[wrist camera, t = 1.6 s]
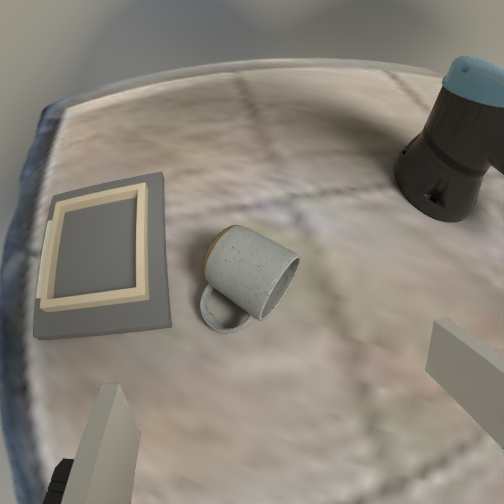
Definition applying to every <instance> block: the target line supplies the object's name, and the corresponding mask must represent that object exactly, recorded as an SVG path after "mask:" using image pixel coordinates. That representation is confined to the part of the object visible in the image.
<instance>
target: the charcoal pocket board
mask: <svg viewBox="0 0 504 504" xmlns="http://www.w3.org/2000/svg"><path fill="white" fill-rule="evenodd" d="M170 327H172V324H171V313H170V301H169V289H168V274H167V258H166V237H165V207H164V177H163V173H162V172H158V173H152V174H147V175H142V176H137V177H132V178H127V179H122V180H117V181H113V182H108V183H104V184H99V185H95V186H90V187H86V188H82V189H78V190H74V191H70V192H66V193H62V194H58V195H54V196H53V200H52V204H51V208H50V213H49V217H48V222H47V227H46V232H45V237H44V242H43V248H42V254H41V260H40V267H39V274H38V282H37V290H36V300H35V312H34V327H33V337H35V338H37V339H39V340H47V339H62V338H75V337H87V336H99V335H109V334H119V333H128V332H137V331H146V330H154V329H162V328H170Z"/></svg>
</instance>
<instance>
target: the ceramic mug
mask: <svg viewBox="0 0 504 504" xmlns="http://www.w3.org/2000/svg"><path fill="white" fill-rule="evenodd" d="M299 264H300V256H299V255H298V254H297V253H295V252H293V251H291V250H289V249H287V248H285V247H284V246H282V245H280V244H278V243H276V242H274V241H272V240H270V239H268V238H266V237H264V236H262V235H260V234H259V233H257V232H255V231H253V230H251V229H249V228H246V227H243V226H239V225H233V226H230V227H228V228H226V229H224V230H223V231H222V232H220V233H219V234H218V235H217V237H216V238H215V239H214V240H213V242H212V243H211V245H210V247H209V248H208V250H207V252H206V255H205V257H204V261H203V266H202V267H203V275H204V277H205V279H206V280H207V281H208V285H207V286H206V288H205V290H204V291H203V294H202V296H201V301H200V310H201V314H202V317H203V319H204V320H205V322H206V323H207V324H208V325H209V326H210V327H211V328H212V329H213V330H215V331H217V332H219V333H225V334H228V333H234V332H238V331H240V330H242V329H244V328H245V327H246V326H248V325H249V324H250V323H251V322H252V321H253V320H254V319H255V318H256V319H258V320H260V321H261V320H264V319H265V318H267V317H268V316H269V315H270V314H271V313H272V312H273V310H274V309H275V308H276V306H277V305H278V304H279V303H280V301H281V300H282V298H283V297H284V296H285V293H286V292H287V290H288V289H289V287H290V285H291V284H292V282H293V280H294V278H295V276H296V273H297V271H298V267H299ZM214 288H215V289H216V290H218V291H219V292H221V293H222V294H223V295H225V296H226V297H228V298H229V299H231V300H232V301H233V302H234V303H235V304H237V305H238V306H239V307H241V308H242V309H244V310H245V311H246V312H248V313H249V316H248V318H247V319H246V320H245V321H244V322H243V323H241V324H240V325H238V326H237V327H234V328H230V329H228V328H225V327H223V326H222V325H221V324H220V323H219V322H218V321H217V320H216V319H215V318H214V317H213V314H211V313H209V311H208V301H209V297H210V295H211V292H212V291H213V289H214Z"/></svg>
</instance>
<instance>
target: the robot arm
mask: <svg viewBox="0 0 504 504" xmlns="http://www.w3.org/2000/svg"><path fill="white" fill-rule="evenodd" d="M442 84H443V86H442V88H441V90H440V93H439V95H438V97H437V100H436V102H435V104H434V106H433V109H432V111H431V113H430V115H429V117H428V120H427V122H426V124H425V126H424V128H423V130H422V132H421V133H420V134H419V135H418V136H416V137H415V138H414V139H413V140H412V141H411V142H410V143H409V144H408V145H407V146H406V147H405V148H404V149H403V150H402V151H401V152H400V154H399V156H398V159H397V161H396V163H395V167H394V173H395V178H396V181H397V183H398V185H399V187H400V189H401V190H402V192H403V193H404V195H405V196H406V197H407V198H408V199H409V201H410V202H411V203H412V204H414V205H415V206H416V207H417V208H418V209H420V210H421V211H422V212H424V213H425V214H427V215H429V216H431V217H433V218H435V219H438V220H441V221H444V222H458V221H461V220H463V219H464V218H465V217H466V216H467V215H468V214H469V213H470V212H471V210H472V209H473V208H474V206H475V203H476V199H477V196H478V193H479V190H480V186H481V183H482V179H483V176H484V175H485V173H486V172H487V170H488V169H489V167H490V166H493V167H494V168H495V169H497V170H498V171H499V172H501V173H502V174H503V175H504V69H502V68H500V67H498V66H496V65H494V64H492V63H490V62H487V61H485V60H482V59H479V58H475V57H470V56H461V57H458V58H456V59H455V60H454V61H453V62H452V64H451V66H450V68H449V71H448V73H447V75H446V76H445V77H444V78H443V81H442ZM425 371H426V372H427V373H428V374H429V375H430V376H431V377H432V378H433V379H434V380H436V381H437V382H438V383H439V384H440V385H441V386H442V387H443V388H444V389H445V390H446V391H447V392H448V393H449V394H450V395H451V396H452V397H453V398H454V399H455V400H456V401H457V402H458V403H459V404H460V405H461V406H462V407H463V408H464V409H465V410H466V411H467V412H468V413H469V414H470V415H471V416H472V417H473V418H474V420H475V421H476V422H477V423H478V424H479V425H480V426H481V427H482V428H483V429H484V430H485V431H486V432H487V433H488V434H489V435H490V436H491V437H492V438H493V439H494V440H495V441H496V442H497V443H498V444H499V445H500V446H501V447H502V449H503V450H504V357H503V356H502V355H501V354H499V353H498V352H496V351H495V350H494V349H492V348H491V347H490V346H488V345H487V344H485V343H484V342H482V341H481V340H480V339H478V338H477V337H475V336H474V335H473V334H471V333H470V332H468V331H467V330H465V329H464V328H462V327H461V326H460V325H458V324H457V323H455V322H454V321H452V320H451V319H449V318H448V317H446V316H445V317H443V318H440V319H437V320H434V323H433V330H432V336H431V342H430V348H429V353H428V358H427V364H426V368H425ZM140 436H141V430H140V428H139V426H138V424H137V422H136V420H135V417H134V415H133V413H132V411H131V409H130V406H129V404H128V402H127V400H126V397H125V395H124V393H123V390H122V388H121V386H120V383H115V384H102V385H101V388H100V390H99V393H98V395H97V398H96V401H95V403H94V406H93V408H92V411H91V414H90V416H89V419H88V422H87V425H86V427H85V430H84V433H83V436H82V439H81V442H80V444H79V447H78V450H77V453H76V456H75V459H65V458H63V460H62V461H61V462H60V463H59V464H58V465H57V466H56V468H55V469H54V472H53V475H52V478H51V482H50V484H49V487H48V492H47V493H46V496H45V499H44V502H43V504H131V498H132V490H133V482H134V475H135V468H136V461H137V455H138V449H139V442H140Z"/></svg>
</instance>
